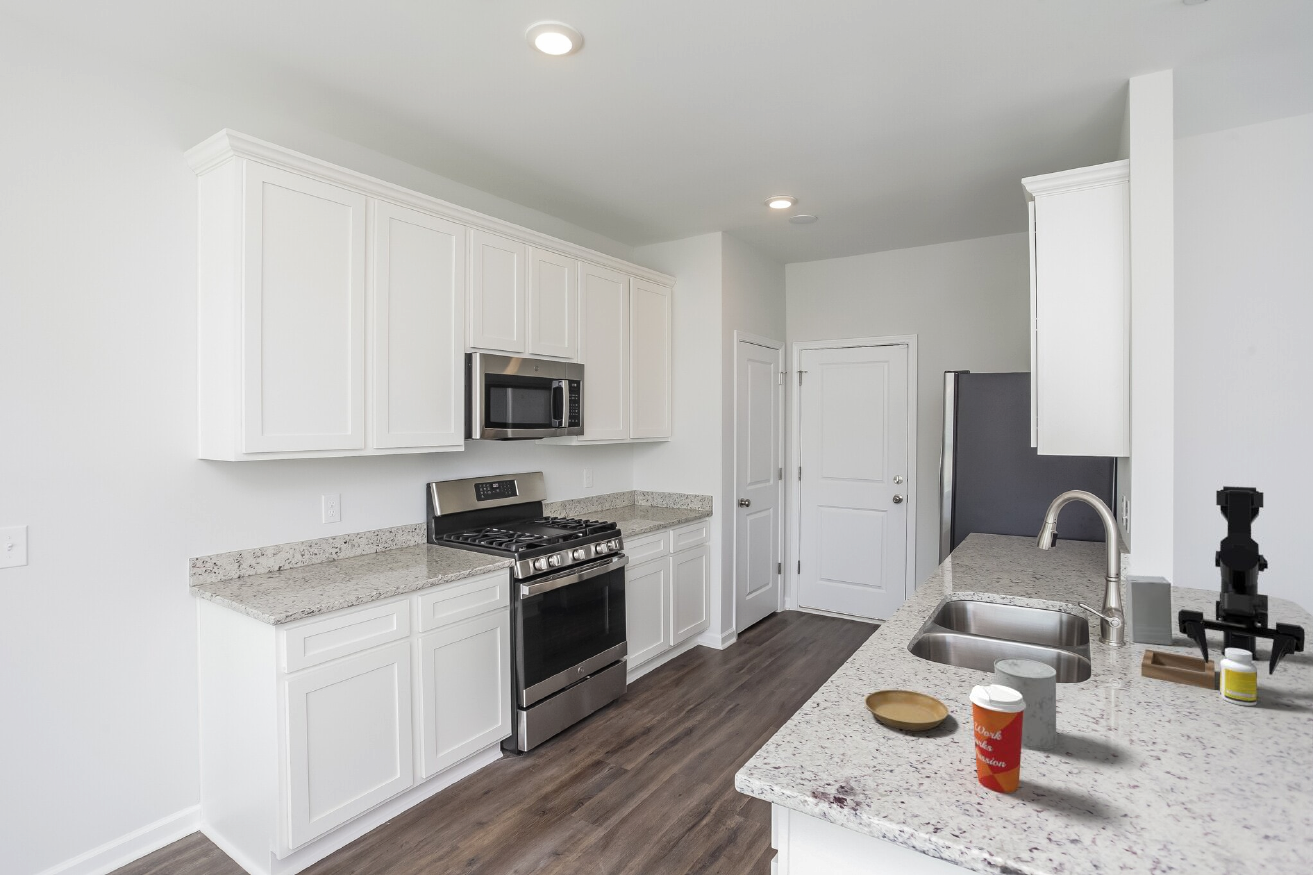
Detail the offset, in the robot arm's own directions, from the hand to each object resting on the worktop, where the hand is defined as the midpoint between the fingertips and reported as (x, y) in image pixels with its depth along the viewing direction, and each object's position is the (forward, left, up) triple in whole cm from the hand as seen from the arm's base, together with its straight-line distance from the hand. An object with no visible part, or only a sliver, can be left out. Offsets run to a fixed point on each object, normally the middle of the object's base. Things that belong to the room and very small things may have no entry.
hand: (1238, 667), depth 127 cm
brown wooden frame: (-11, -9, -7) cm, 16 cm away
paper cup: (+59, -29, -7) cm, 66 cm away
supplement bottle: (-1, 0, -7) cm, 7 cm away
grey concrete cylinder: (+40, -29, -7) cm, 50 cm away
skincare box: (-34, -16, -7) cm, 38 cm away
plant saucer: (+45, -48, -7) cm, 66 cm away
